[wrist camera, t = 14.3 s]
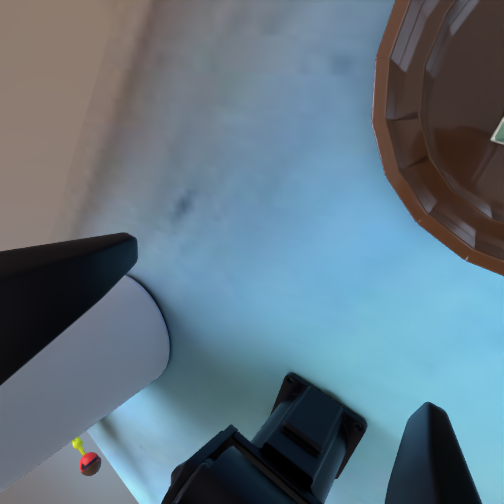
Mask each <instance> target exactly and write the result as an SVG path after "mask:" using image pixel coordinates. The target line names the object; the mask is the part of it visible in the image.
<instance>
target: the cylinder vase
mask: <svg viewBox="0 0 504 504" xmlns="http://www.w3.org/2000/svg"><path fill="white" fill-rule="evenodd" d="M169 353H170V343H169V336H168V331H167V327H166V324H165V321H164V319H163V316H162V314H161V312H160V310H159V308H158V306H157V305H156V303H155V302H154V300H153V299H152V297H151V296H150V295H149V293H148V292H147V291H146V290H145V289H144V288H143V287H142V286H141V285H140V284H139V283H137V282H136V281H135V280H133V279H132V278H130V277H128V276H126V275H124V276H123V278H122V279H121V280H120V281H119V282H118V283H117V284H116V285H115V286H114V287H113V288H112V289H111V290H110V291H109V292H108V293H107V294H106V295H105V296H104V297H103V298H102V299H101V300H100V301H99V302H98V303H97V304H95V305H94V306H93V307H92V308H91V309H90V310H88V311H87V312H86V313H85V314H84V315H83V316H81V317H80V318H79V319H78V320H77V321H76V322H74V323H73V324H72V325H71V326H70V327H69V328H67V329H66V330H65V331H64V332H63V333H62V334H60V335H59V336H58V337H57V338H56V339H55V340H53V341H52V342H51V343H50V344H49V345H48V346H46V347H45V348H44V349H43V350H42V351H41V352H39V353H38V354H37V355H36V356H35V357H34V358H32V359H31V360H30V361H29V362H28V363H27V364H25V365H24V366H23V367H22V368H21V369H20V370H18V371H17V372H16V373H15V374H14V375H13V376H11V377H10V378H9V379H8V380H7V381H6V382H4V383H3V384H2V385H1V386H0V493H1V492H3V491H4V490H6V489H7V488H8V487H10V486H11V485H12V484H14V483H15V482H17V481H18V480H19V479H20V478H22V477H23V476H25V475H26V474H27V473H29V472H30V471H31V470H33V469H34V468H36V467H37V466H38V465H40V464H41V463H42V462H44V461H45V460H46V459H48V458H49V457H51V456H52V455H53V454H54V453H56V452H57V451H59V450H60V449H61V448H63V447H64V446H66V445H67V444H68V443H69V442H71V441H72V440H74V439H75V438H76V437H78V436H79V435H80V434H82V433H83V432H84V431H86V430H87V429H89V428H90V427H91V426H93V425H94V424H96V423H97V422H98V421H100V420H101V419H102V418H104V417H105V416H106V415H108V414H109V413H110V412H112V411H113V410H115V409H116V408H117V407H119V406H120V405H121V404H123V403H124V402H125V401H127V400H128V399H130V398H131V397H132V396H134V395H135V394H136V393H138V392H139V391H140V390H142V389H143V388H145V387H146V386H147V385H149V384H150V383H151V382H153V381H154V380H155V379H157V378H158V377H159V376H160V375H161V374H162V373H163V372H164V370H165V368H166V366H167V363H168V360H169Z"/></svg>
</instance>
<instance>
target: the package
mask: <svg viewBox="0 0 504 504" xmlns="http://www.w3.org/2000/svg"><path fill="white" fill-rule="evenodd" d="M490 140H491V141H493V142H496V143H500V144H503V145H504V116H503V118H502V119H501V121H500V123H499V125H498V126H497V128H496V130H495V131H494V133H493V135H492V136H491V138H490Z"/></svg>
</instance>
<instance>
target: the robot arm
mask: <svg viewBox="0 0 504 504" xmlns="http://www.w3.org/2000/svg"><path fill="white" fill-rule="evenodd" d="M137 259H138V247H137V239H136V238H135V237H133V236H132V235H130V234H128V233H125V232H123V233H116V234H110V235H103V236H97V237H90V238H84V239H78V240H71V241H65V242H58V243H52V244H45V245H39V246H32V247H26V248H20V249H13V250H7V251H0V386H1V385H2V384H3V383H4V382H6V381H7V380H8V379H9V378H10V377H11V376H13V375H14V374H15V373H16V372H17V371H18V370H20V369H21V368H22V367H23V366H24V365H25V364H27V363H28V362H29V361H30V360H31V359H32V358H34V357H35V356H36V355H37V354H38V353H39V352H41V351H42V350H43V349H44V348H45V347H46V346H48V345H49V344H50V343H51V342H52V341H53V340H55V339H56V338H57V337H58V336H59V335H60V334H62V333H63V332H64V331H65V330H66V329H67V328H69V327H70V326H71V325H72V324H73V323H74V322H76V321H77V320H78V319H79V318H80V317H81V316H83V315H84V314H85V313H86V312H87V311H88V310H90V309H91V308H92V307H93V306H94V305H95V304H97V303H98V302H99V301H100V300H101V299H102V298H103V297H104V296H105V295H106V294H107V293H108V292H109V291H110V290H111V289H112V288H113V287H114V286H115V285H116V284H117V283H118V282H119V281H120V280H121V279H122V278H123V276H124V275H125V274H126V273H127V272H128V271H129V270H130V269H131V268H132V267H133V266H134V265H135V263H136V262H137ZM290 379H292V380H293V381H291V380H290ZM357 424H358V425H360V426H361V427H360V426H358V425H357ZM366 429H367V423H366V422H365V421H364V420H363V419H362V418H360V417H359V416H357V415H356V414H354V413H353V412H351V411H350V410H348V409H347V408H345V407H344V406H342V405H341V404H339V403H338V402H336V401H335V400H333V399H332V398H330V397H329V396H327V395H326V394H324V393H323V392H321V391H320V390H318V389H317V388H315V387H314V386H312V385H311V384H309V383H308V382H306V381H305V380H303V379H302V378H300V377H299V376H297V375H296V374H294V373H288V374H287V375H286V377H285V378H284V381H283V383H282V386H281V389H280V391H279V394H278V397H277V399H276V402H275V404H274V407H273V410H272V412H271V415H270V417H269V418H268V420H267V421H266V422H265V424H264V425H263V426H262V428H261V429H260V430H259V431H258V433H257V434H256V435H255V437H254V438H253V439H252V441H251V442H250V441H249V440H247V439H246V438H245V437H244V436H243V435H242V434H240V433H239V432H238V429H237V428H236V427H234V426H233V425H232V424H231V425H230V426H229V427H227V428H226V429H225V430H224V431H223V430H222V431H220V432H219V433H218V434H217V435H216V436H215V437H214V438H212V439H211V440H210V441H209V442H208V443H207V444H205V445H204V446H203V447H202V448H201V449H200V450H199V451H197V452H196V453H195V454H194V455H193V456H192V457H191V458H189V459H188V460H187V461H185V462H184V463H182V464H180V465H178V466H177V467H176V468H175V469H174V471H173V472H172V474H171V486H170V487H169V489H168V492H167V493H166V495H165V497H164V499H163V501H162V503H161V504H324V502H325V500H326V498H327V495H328V493H329V491H330V488H331V486H332V484H333V481H334V479H337V478H338V477H339V475H340V474H341V472H342V470H343V469H344V467H345V465H346V464H347V462H348V460H349V459H350V457H351V455H352V454H353V452H354V450H355V449H356V447H357V445H358V443H359V442H360V440H361V438H362V437H363V435H364V433H365V431H366ZM385 504H482V502H481V499H480V497H479V494H478V492H477V489H476V487H475V484H474V481H473V479H472V476H471V474H470V471H469V469H468V466H467V464H466V461H465V458H464V456H463V453H462V451H461V448H460V446H459V443H458V440H457V438H456V435H455V433H454V430H453V428H452V425H451V422H450V420H449V417H448V415H447V413H446V412H445V410H443V409H442V408H440V407H438V406H436V405H435V404H433V403H431V402H425V403H424V404H423V405H422V406H421V407H420V408H419V409H418V410H417V411H416V412H415V413H414V414H412V415H411V417H410V418H409V419H408V421H407V424H406V427H405V430H404V433H403V436H402V440H401V443H400V446H399V450H398V453H397V456H396V460H395V463H394V466H393V469H392V473H391V476H390V480H389V483H388V488H387V493H386V499H385Z"/></svg>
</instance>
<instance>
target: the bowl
mask: <svg viewBox="0 0 504 504" xmlns="http://www.w3.org/2000/svg"><path fill="white" fill-rule="evenodd" d="M503 116H504V0H395V3H394V6H393V9H392V11H391V14H390V17H389V20H388V23H387V26H386V29H385V32H384V35H383V38H382V40H381V43H380V46H379V49H378V52H377V55H376V60H375V72H374V88H373V103H372V119H371V120H372V127H373V131H374V134H375V138H376V142H377V146H378V150H379V154H380V158H381V162H382V166H383V170H384V174H385V176H386V178H387V180H388V181H389V183H390V184H391V186H392V187H393V189H394V190H395V192H396V193H397V195H398V196H399V198H400V199H401V201H402V202H403V204H404V205H405V207H406V208H407V210H408V211H409V213H410V214H411V216H412V217H413V219H414V220H415V222H417V224H418V225H420V226H421V227H422V228H423V229H425V230H426V231H427V232H429V233H430V234H431V235H432V236H434V237H435V238H436V239H438V240H439V241H440V242H441V243H443V244H444V245H445V246H447V247H448V248H449V249H450V250H452V251H453V252H454V253H456V254H457V255H458V256H459V257H461V258H462V259H464V260H466V261H467V262H470V263H472V264H475V265H477V266H480V267H482V268H485V269H487V270H490V271H492V272H495V273H497V274H500V275H502V276H504V145H503V144H500V143H496V142H493V141H491V140H490V138H491V136H492V135H493V133H494V131H495V130H496V128H497V126H498V125H499V123H500V121H501V119H502V118H503Z"/></svg>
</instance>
